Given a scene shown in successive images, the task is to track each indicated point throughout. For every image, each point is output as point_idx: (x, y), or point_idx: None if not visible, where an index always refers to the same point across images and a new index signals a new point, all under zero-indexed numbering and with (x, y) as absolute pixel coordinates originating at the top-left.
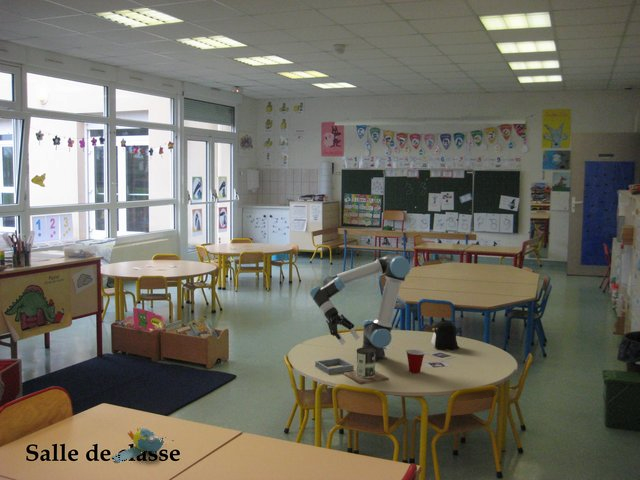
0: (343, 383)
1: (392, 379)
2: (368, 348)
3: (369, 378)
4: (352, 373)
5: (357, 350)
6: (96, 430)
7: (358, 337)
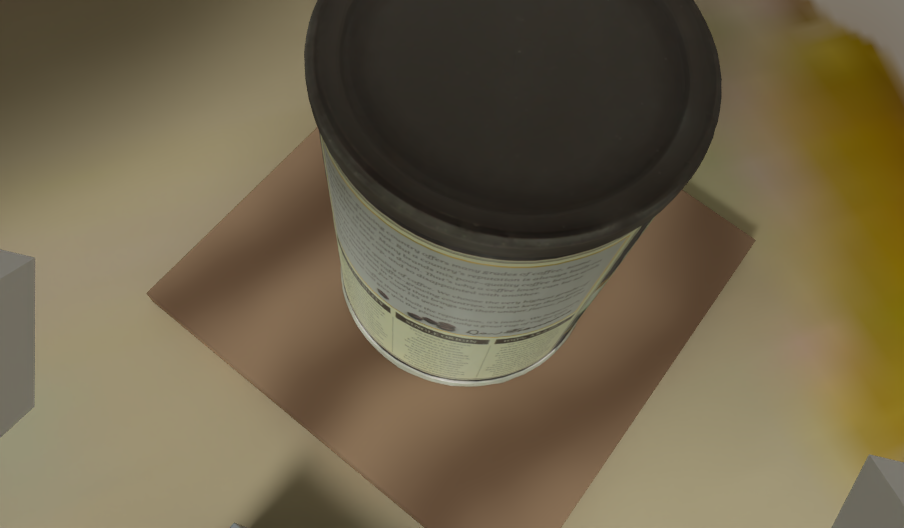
0: (837, 440)
1: None
2: (345, 56)
3: None
4: (476, 452)
5: (652, 198)
6: None
7: (32, 275)
